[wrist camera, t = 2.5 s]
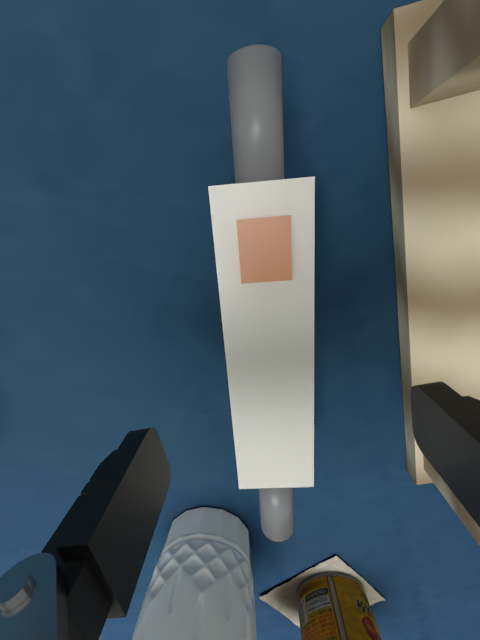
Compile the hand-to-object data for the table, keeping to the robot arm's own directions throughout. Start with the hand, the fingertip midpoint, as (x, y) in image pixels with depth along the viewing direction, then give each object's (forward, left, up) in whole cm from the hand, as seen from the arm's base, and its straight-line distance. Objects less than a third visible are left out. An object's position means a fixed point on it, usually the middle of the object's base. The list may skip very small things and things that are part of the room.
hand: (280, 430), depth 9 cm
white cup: (+17, -8, -9) cm, 21 cm away
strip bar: (0, 0, -9) cm, 9 cm away
